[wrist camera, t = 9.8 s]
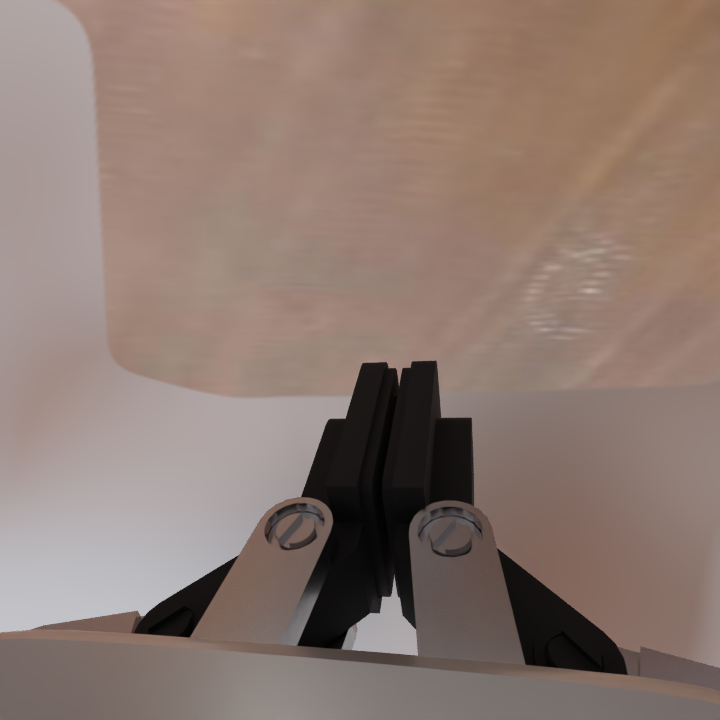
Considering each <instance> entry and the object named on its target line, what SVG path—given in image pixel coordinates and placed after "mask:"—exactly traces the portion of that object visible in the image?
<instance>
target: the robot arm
mask: <svg viewBox="0 0 720 720" xmlns="http://www.w3.org/2000/svg"><path fill="white" fill-rule="evenodd" d="M473 472H474V471H473V440H472V418H441V411H440V396H439V383H438V370H437V362H436V361H413V362H412V364H411V368H403V369H402V374H401V380H400V385H399V383H398V375H397V370H396V368H388V364H387V362H379V363H363V364H362V366H361V369H360V372H359V376H358V379H357V382H356V386H355V389H354V392H353V396H352V399H351V402H350V406H349V409H348V413H347V416H346V419H329V420H328V422H327V424H326V426H325V429H324V432H323V435H322V438H321V441H320V444H319V447H318V449H317V452H316V455H315V458H314V461H313V464H312V467H311V470H310V473H309V476H308V479H307V482H306V485H305V487H304V491H303V493H302V496H301V497H298V498H293V499H288V500H285V501H283V502H281V503H279V504H277V505H275V506H274V507H272V508H271V509H270V510H268V511H267V512H266V513H265V514H264V516H263V517H262V518H261V519H260V521H259V523H258V524H257V526H256V528H255V529H254V531H253V533H252V534H251V536H250V538H249V539H248V541H247V543H246V544H245V546H244V548H243V549H242V551H241V553H240V554H239V555H238V556H237V557H235V558H234V559H232V560H230V561H228V562H227V563H225V564H224V565H222V566H220V567H218V568H217V569H215V570H213V571H212V572H210V573H209V574H207V575H205V576H204V577H202V578H200V579H199V580H197V581H195V582H194V583H192V584H190V585H189V586H187V587H185V588H184V589H182V590H180V591H179V592H177V593H176V594H174V595H172V596H171V597H169V598H167V599H166V600H164V601H162V602H161V603H159V604H158V605H157V606H155V607H154V608H153V609H151V610H150V611H149V612H148V613H147V614H146V615H145V616H140V614H139V612H138V611H133V612H127V613H121V614H114V615H108V616H102V617H95V618H89V619H82V620H76V621H70V622H63V623H57V624H51V625H45V626H41V627H38V628H34V629H31V630H25V631H12V632H1V633H0V720H720V668H718V667H714V666H710V665H707V664H703V663H699V662H695V661H692V660H688V659H685V658H681V657H677V656H674V655H670V654H666V653H662V652H659V651H655V650H652V649H648V648H644V647H640V652H639V653H638V652H634V651H630V650H627V649H623V648H620V647H617V645H616V644H615V643H614V642H613V641H612V640H611V639H610V638H609V637H608V636H607V635H606V634H605V633H604V632H603V631H602V630H600V629H599V628H598V627H596V626H595V625H594V624H593V623H591V622H590V621H589V620H588V619H586V618H585V617H584V616H583V615H581V614H580V613H579V612H578V611H576V610H575V609H574V608H572V607H571V606H570V605H568V604H567V603H566V602H565V601H564V600H562V599H561V598H560V597H558V596H557V595H556V594H555V593H553V592H552V591H551V590H550V589H548V588H547V587H545V585H543V584H542V583H541V582H539V581H538V580H537V579H536V578H534V577H533V576H532V575H531V574H529V573H528V572H527V571H526V570H524V569H523V568H522V567H520V566H519V565H518V564H517V563H515V562H514V561H513V560H512V559H510V558H509V557H508V556H506V555H505V554H504V553H503V552H501V551H500V550H499V549H498V548H497V546H496V542H495V538H494V534H493V529H492V526H491V524H490V522H489V520H488V518H487V517H486V516H485V515H484V514H483V513H482V511H480V510H479V509H478V508H476V507H474V473H473ZM394 575H395V581H396V588H397V594H398V597H400V600H401V607H402V613H403V616H404V617H405V618H406V619H407V620H408V622H409V623H411V625H412V626H413V627H414V628H415V629H416V633H417V646H418V656H415V655H403V654H391V653H378V652H366V651H354V650H352V648H353V645H354V642H355V638H356V632H357V626H356V623H357V622H359V621H360V620H361V619H363V618H364V617H366V616H367V615H368V614H369V613H380V608H381V601H382V596H384V597H390V596H391V594H392V587H393V579H394Z"/></svg>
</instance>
